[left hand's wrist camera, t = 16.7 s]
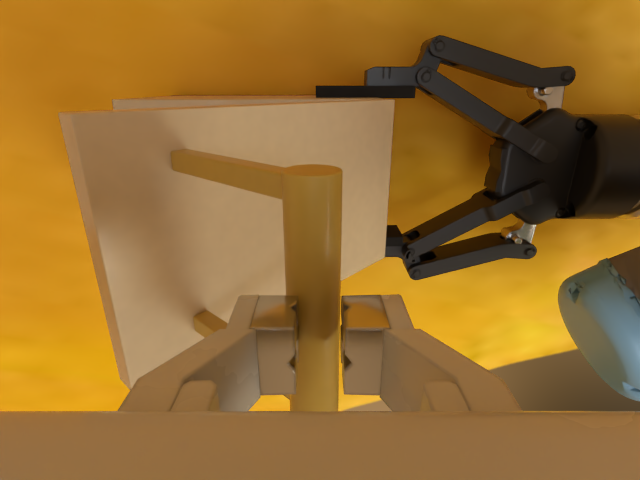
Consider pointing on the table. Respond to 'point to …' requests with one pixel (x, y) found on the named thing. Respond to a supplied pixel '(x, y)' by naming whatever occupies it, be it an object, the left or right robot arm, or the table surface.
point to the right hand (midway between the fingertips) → (316, 168)
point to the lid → (230, 221)
